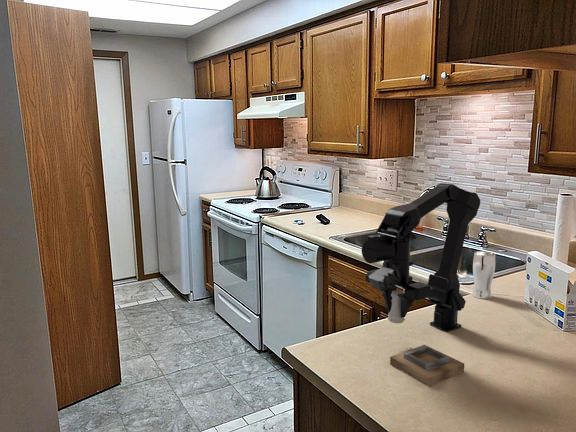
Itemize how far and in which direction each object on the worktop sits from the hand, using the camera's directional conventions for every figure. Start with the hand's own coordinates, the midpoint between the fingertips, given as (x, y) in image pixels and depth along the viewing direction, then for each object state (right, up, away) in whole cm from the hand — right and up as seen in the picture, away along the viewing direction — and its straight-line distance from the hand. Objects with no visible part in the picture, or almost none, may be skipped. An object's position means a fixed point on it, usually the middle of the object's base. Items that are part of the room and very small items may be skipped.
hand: (396, 314), depth 125 cm
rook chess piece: (0, -2, 0) cm, 2 cm away
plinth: (+4, -10, -12) cm, 17 cm away
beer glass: (+38, -2, +37) cm, 53 cm away
